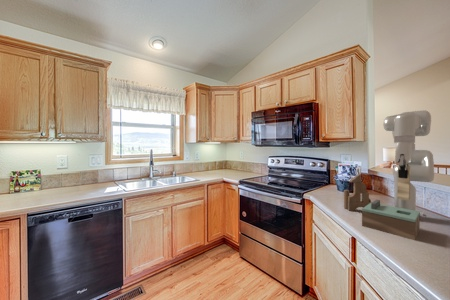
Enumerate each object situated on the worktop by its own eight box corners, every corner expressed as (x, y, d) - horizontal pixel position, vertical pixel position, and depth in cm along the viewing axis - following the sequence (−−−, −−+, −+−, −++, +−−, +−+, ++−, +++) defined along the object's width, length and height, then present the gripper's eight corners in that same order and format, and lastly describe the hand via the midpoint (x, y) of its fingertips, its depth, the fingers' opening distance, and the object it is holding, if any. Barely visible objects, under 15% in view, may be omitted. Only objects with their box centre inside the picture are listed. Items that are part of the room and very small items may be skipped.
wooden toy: (369, 209, 130) (369, 172, 129) (373, 213, 123) (374, 174, 123) (343, 207, 134) (343, 172, 134) (346, 210, 128) (346, 173, 127)
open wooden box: (370, 220, 112) (370, 205, 112) (419, 232, 96) (419, 214, 96) (361, 228, 102) (362, 211, 101) (414, 242, 86) (415, 223, 86)
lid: (371, 204, 112) (371, 197, 111) (419, 213, 96) (420, 205, 96) (362, 210, 101) (362, 202, 101) (415, 222, 86) (415, 213, 86)
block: (399, 197, 98) (399, 165, 97) (410, 198, 94) (410, 166, 94) (397, 198, 95) (397, 166, 94) (408, 200, 92) (409, 167, 91)
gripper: (397, 140, 102) (397, 174, 103) (390, 140, 91) (389, 178, 92) (417, 139, 96) (416, 176, 97) (412, 139, 86) (411, 180, 86)
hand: (403, 177), depth 94 cm, fingers closed on block, 4 cm apart
